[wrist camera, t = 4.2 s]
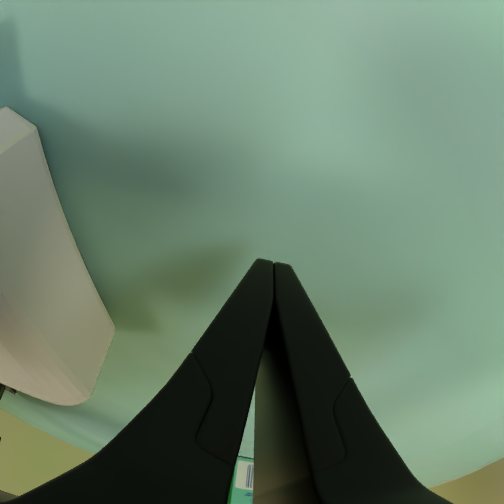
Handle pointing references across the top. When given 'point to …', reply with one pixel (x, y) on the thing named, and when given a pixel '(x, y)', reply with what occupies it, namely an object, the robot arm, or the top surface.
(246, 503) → the milk carton
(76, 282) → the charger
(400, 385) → the top surface
